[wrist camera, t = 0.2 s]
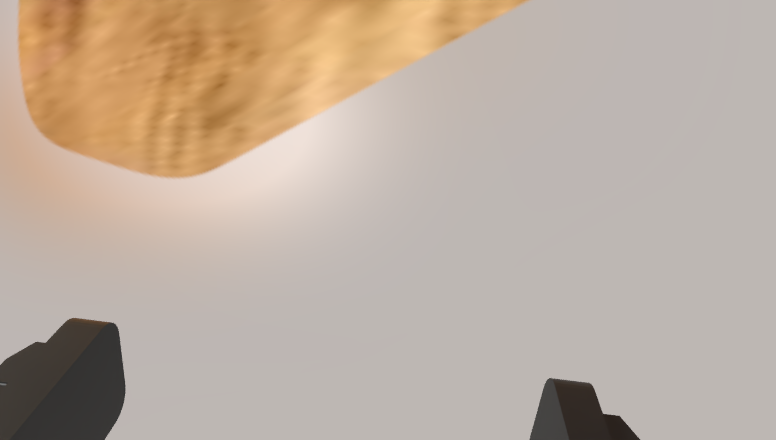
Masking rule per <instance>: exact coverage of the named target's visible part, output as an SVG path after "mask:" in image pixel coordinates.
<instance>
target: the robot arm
mask: <svg viewBox="0 0 776 440" xmlns="http://www.w3.org/2000/svg"><path fill="white" fill-rule="evenodd" d="M124 398H125V379H124V370H123V363H122V354H121V346H120V337H119V331H118V328H117V326H116V325H115V324H114V323H110V322H102V321H94V320H86V319H78V318H72V319H69V320H67V321H66V322H65V323H64V324H63V325H62V326H61V327H60V328H59V329H58V330H57V331H56V333H55V334H54V335H53V336H52V337H51V338H50V339H49V340H48V341H47V342H46V343H41V342H35V343H33V344H32V345H30V346H28V347H26V348H25V349H23V350H21V351H19V352H18V353H16V354H14V355H12V356H11V357H9V358H7V359H6V360H5V361H4V362H3V363H2V364H1V365H0V440H105V438H106V436H107V435H108V433H109V432H110V430H111V429H112V427H113V426H114V424H115V423H116V421H117V419H118V417H119V415H120V413H121V410H122V407H123V403H124ZM530 440H640V439H639V438H638V437H637V436H636V435H635V433H634V432H633V431H632V430H631V429H630V428H629V426H628V425H627V424H626V423H625V422H624V421H623V420H622V419H621V417H620V416H615V415H607V414H603V413H602V410H601V407H600V404H599V402H598V399H597V396H596V393H595V390H594V388H593V386H592V385H591V384H590V383H585V382H576V381H568V380H560V379H552V378H549V379H548V380H547V381H546V383H545V386H544V389H543V393H542V397H541V400H540V403H539V407H538V411H537V414H536V418H535V422H534V426H533V429H532V433H531V436H530Z"/></svg>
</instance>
